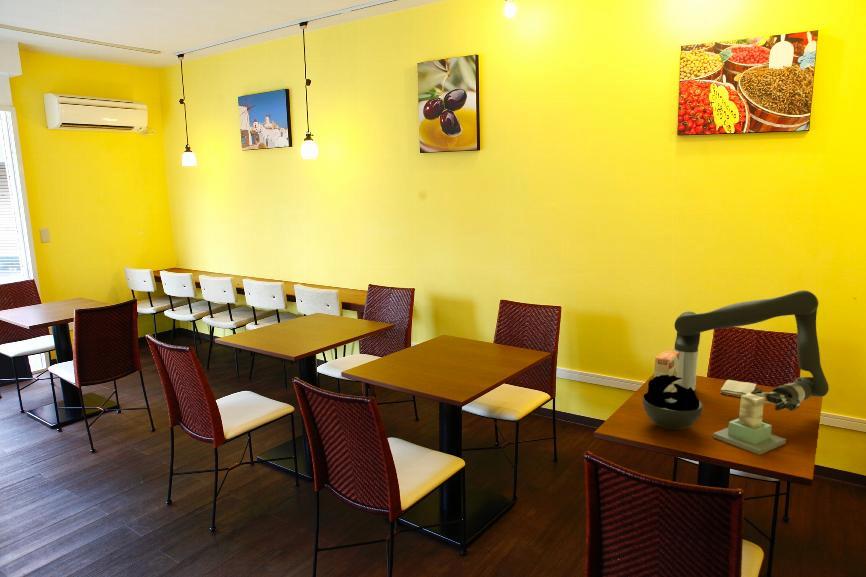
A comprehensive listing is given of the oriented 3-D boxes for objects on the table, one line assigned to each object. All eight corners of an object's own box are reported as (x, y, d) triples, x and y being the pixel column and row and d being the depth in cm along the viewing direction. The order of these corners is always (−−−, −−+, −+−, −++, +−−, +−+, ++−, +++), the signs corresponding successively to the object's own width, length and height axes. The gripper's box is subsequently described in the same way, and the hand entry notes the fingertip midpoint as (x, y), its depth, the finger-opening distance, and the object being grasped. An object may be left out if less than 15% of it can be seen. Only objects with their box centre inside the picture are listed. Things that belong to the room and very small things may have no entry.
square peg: (737, 435, 195) (741, 395, 193) (745, 431, 198) (749, 393, 195) (752, 440, 191) (755, 400, 189) (760, 436, 194) (764, 397, 191)
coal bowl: (651, 412, 219) (654, 365, 216) (707, 425, 207) (711, 376, 203) (632, 429, 204) (635, 378, 201) (691, 444, 191) (695, 391, 188)
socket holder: (712, 437, 197) (714, 420, 196) (738, 427, 205) (740, 411, 204) (759, 455, 184) (761, 437, 183) (785, 443, 192) (787, 426, 191)
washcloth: (719, 395, 239) (719, 388, 238) (725, 383, 253) (726, 377, 253) (751, 401, 232) (752, 394, 232) (756, 388, 247) (756, 381, 246)
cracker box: (667, 412, 219) (670, 359, 216) (650, 408, 223) (654, 357, 219) (676, 401, 230) (680, 351, 227) (661, 398, 234) (664, 349, 230)
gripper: (769, 379, 210) (744, 387, 202) (810, 390, 198) (786, 399, 190) (767, 398, 212) (742, 407, 203) (808, 411, 200) (784, 420, 191)
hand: (763, 403), depth 197 cm, fingers open, 8 cm apart
